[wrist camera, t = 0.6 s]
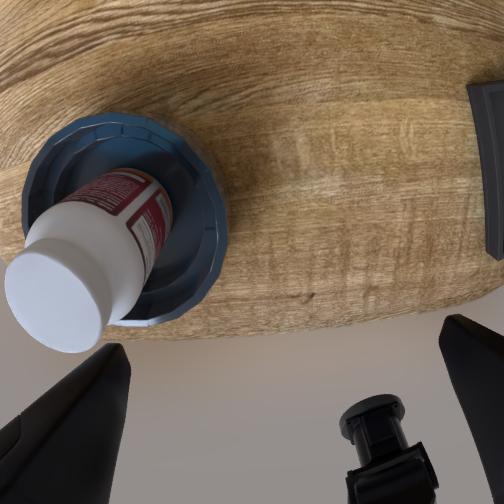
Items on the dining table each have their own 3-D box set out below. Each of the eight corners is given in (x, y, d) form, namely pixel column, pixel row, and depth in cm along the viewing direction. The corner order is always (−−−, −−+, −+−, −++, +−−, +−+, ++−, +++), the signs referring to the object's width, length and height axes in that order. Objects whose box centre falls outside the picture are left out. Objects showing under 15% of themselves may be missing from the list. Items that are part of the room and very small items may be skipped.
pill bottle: (74, 214, 20) (-24, 298, 10) (124, 146, 18) (18, 193, 8) (138, 271, 22) (79, 386, 12) (194, 211, 20) (152, 314, 10)
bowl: (258, 261, 22) (262, 292, 19) (105, 312, 24) (88, 344, 20) (183, 76, 17) (168, 69, 13) (26, 167, 19) (-7, 180, 15)
